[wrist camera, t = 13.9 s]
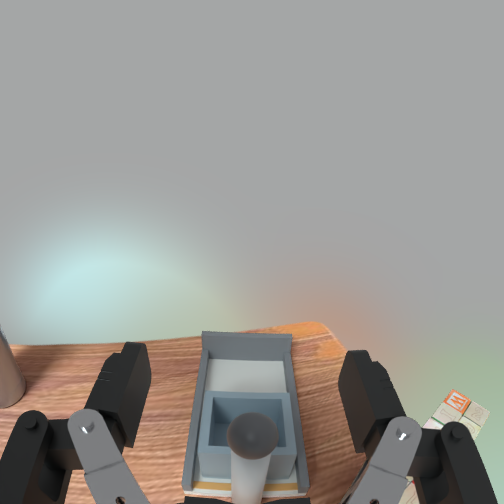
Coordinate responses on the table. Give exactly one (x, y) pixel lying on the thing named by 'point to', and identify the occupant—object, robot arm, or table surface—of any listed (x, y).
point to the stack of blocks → (449, 410)
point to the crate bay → (244, 380)
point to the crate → (246, 441)
